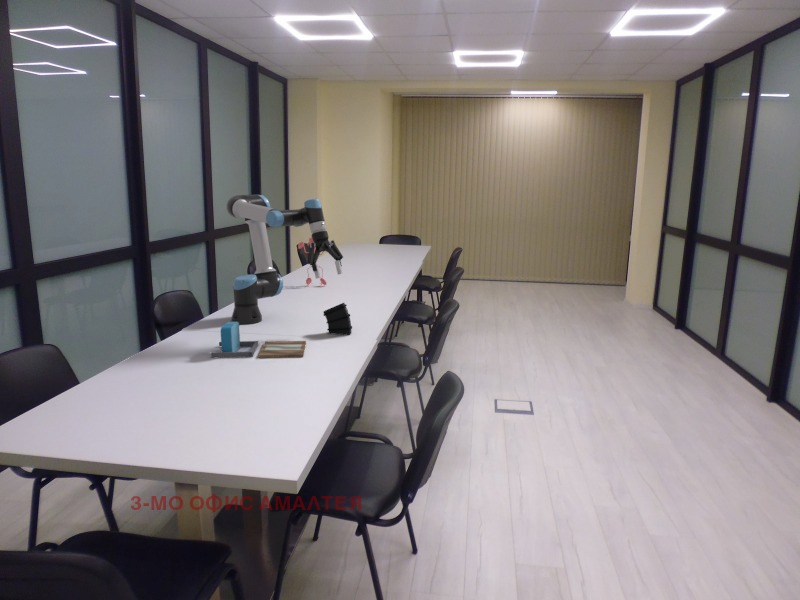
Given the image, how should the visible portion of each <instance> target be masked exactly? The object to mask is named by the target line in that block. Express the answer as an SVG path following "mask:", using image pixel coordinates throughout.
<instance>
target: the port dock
mask: <svg viewBox="0 0 800 600" xmlns="http://www.w3.org/2000/svg"><path fill="white" fill-rule="evenodd" d="M305 345H307V340H281V341H280V340H275V341H274V340H273V341H272V340H271V341H270V340H269V341H264V343H263V345H262V348H261V350H260V351H259V354H258V358H259V359H273V358H276V359H278V358H282V359H283V358H304V354H305V351H304V350H306V346H305Z"/></svg>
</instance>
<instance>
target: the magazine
mask: <svg viewBox="0 0 800 600" xmlns="http://www.w3.org/2000/svg"><path fill="white" fill-rule="evenodd" d="M322 312H323V317H325V318H326V324H327V326H328V327H327V331H328V334H331V333H335V334H334V335H344V334H347V335H348V336H349V335H351V334H352V329H353V325H352V324H351V318H350V317H351V314H350V313H349V311H348V308H347V304H346V303H345V302H342V303H339V304H338V305H335V306H332V307H330V308H328V309H326V310H324V311H322ZM347 335H346V336H347Z"/></svg>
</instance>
